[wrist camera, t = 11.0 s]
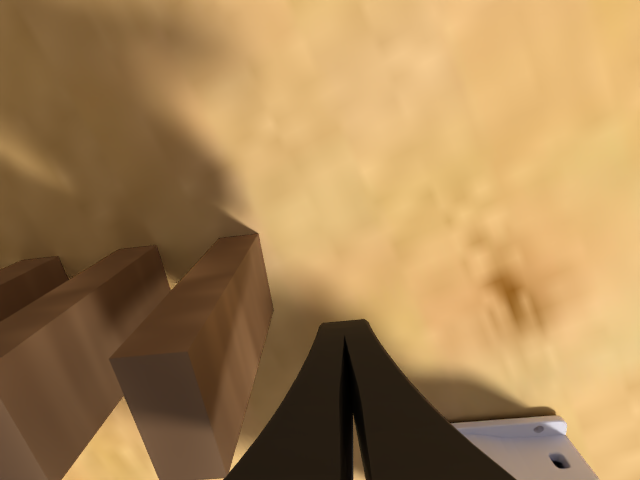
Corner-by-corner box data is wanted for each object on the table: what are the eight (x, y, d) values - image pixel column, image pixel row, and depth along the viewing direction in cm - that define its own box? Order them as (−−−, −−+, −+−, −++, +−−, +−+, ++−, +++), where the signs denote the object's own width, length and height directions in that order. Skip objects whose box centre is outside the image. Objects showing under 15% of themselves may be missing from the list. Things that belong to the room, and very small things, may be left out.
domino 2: (156, 245, 15) (-16, 370, 7) (179, 319, 16) (53, 490, 9) (118, 249, 15) (-90, 377, 7) (145, 323, 16) (-10, 494, 9)
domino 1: (258, 233, 15) (187, 351, 7) (273, 310, 16) (227, 478, 8) (219, 238, 15) (108, 358, 7) (237, 313, 16) (160, 482, 9)
